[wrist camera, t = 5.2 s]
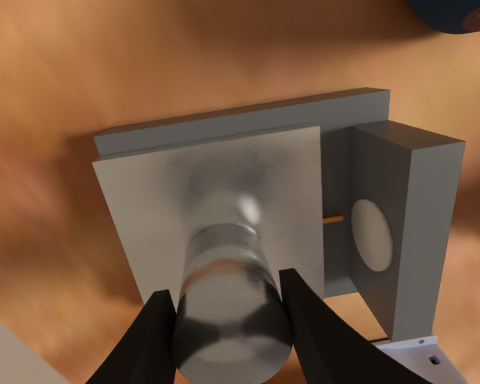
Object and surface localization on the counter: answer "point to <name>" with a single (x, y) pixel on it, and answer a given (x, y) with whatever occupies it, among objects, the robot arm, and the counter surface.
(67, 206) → the counter surface
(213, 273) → the steel weight
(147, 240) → the scale pan
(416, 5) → the soda can
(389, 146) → the scale
